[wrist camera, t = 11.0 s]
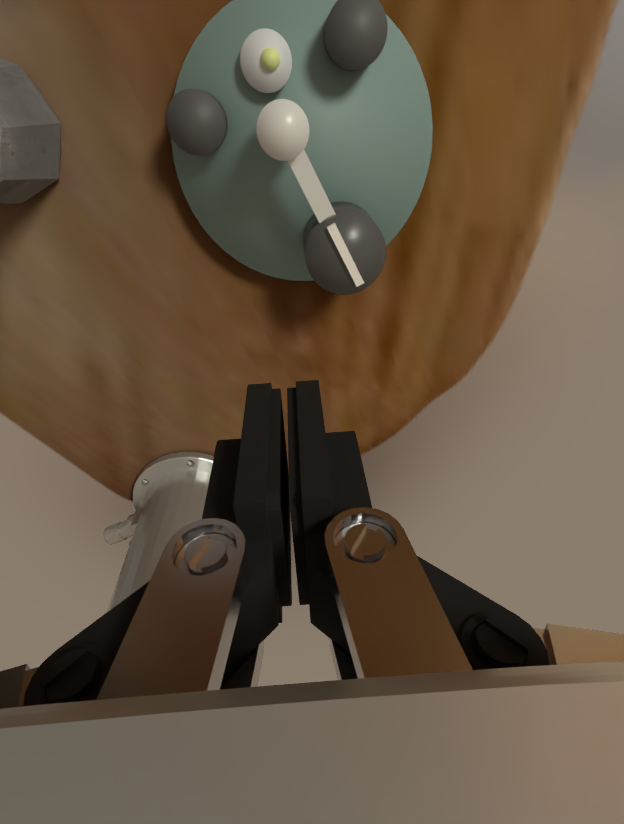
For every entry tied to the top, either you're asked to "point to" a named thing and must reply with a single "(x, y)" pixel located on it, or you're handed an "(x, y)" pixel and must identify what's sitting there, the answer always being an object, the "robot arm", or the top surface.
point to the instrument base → (327, 116)
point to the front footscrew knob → (323, 209)
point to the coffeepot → (25, 137)
